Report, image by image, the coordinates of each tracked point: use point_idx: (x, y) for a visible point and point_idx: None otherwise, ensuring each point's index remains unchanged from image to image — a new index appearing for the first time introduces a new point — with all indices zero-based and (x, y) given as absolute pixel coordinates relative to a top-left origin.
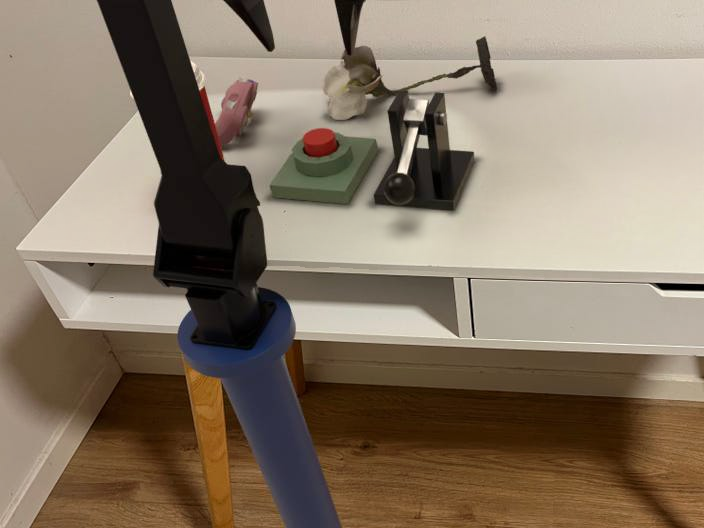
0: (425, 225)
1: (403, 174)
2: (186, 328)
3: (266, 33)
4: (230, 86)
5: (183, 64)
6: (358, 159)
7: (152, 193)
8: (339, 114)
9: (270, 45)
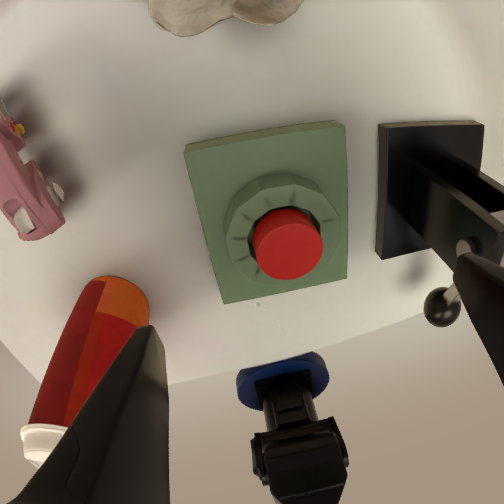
0: (435, 263)
1: (457, 314)
2: (248, 402)
3: (157, 408)
4: None
5: None
6: (338, 200)
7: (64, 327)
8: (188, 23)
9: (161, 363)
